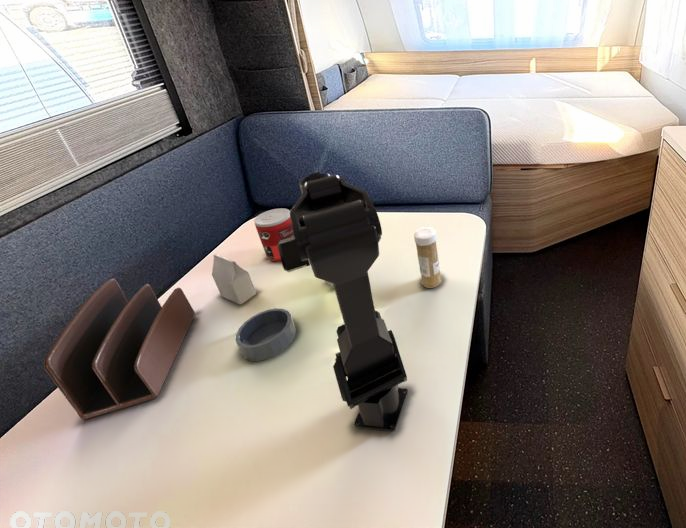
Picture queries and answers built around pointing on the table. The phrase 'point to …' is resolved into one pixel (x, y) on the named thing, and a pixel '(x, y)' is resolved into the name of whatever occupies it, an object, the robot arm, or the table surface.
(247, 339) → the grey round dish
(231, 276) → the gable top box
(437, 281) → the sprinkles bottle
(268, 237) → the canned food
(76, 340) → the letter holder
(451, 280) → the table surface
